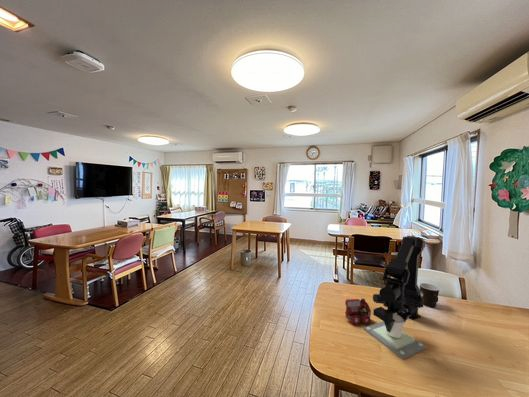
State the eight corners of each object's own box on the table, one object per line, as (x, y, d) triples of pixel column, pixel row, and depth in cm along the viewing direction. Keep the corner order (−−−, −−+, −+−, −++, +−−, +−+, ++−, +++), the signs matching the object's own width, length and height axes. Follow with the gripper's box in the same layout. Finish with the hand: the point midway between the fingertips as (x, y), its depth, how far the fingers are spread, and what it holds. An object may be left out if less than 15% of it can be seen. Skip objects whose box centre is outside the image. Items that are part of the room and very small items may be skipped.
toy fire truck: (374, 324, 101) (375, 302, 101) (348, 325, 100) (349, 303, 99) (365, 315, 108) (366, 295, 107) (341, 316, 107) (342, 296, 106)
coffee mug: (418, 298, 125) (419, 281, 125) (437, 303, 120) (438, 286, 120) (418, 307, 116) (419, 289, 115) (439, 313, 111) (440, 294, 110)
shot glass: (380, 328, 95) (381, 312, 95) (395, 327, 96) (396, 312, 95) (391, 339, 88) (392, 322, 88) (407, 338, 89) (408, 322, 88)
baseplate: (385, 322, 103) (385, 318, 103) (426, 348, 87) (426, 344, 86) (363, 329, 97) (363, 325, 97) (403, 359, 81) (403, 354, 81)
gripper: (392, 282, 102) (390, 314, 103) (363, 289, 94) (361, 323, 95) (417, 293, 92) (415, 328, 93) (387, 302, 84) (384, 340, 85)
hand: (393, 329), depth 92 cm, fingers closed on shot glass, 6 cm apart
